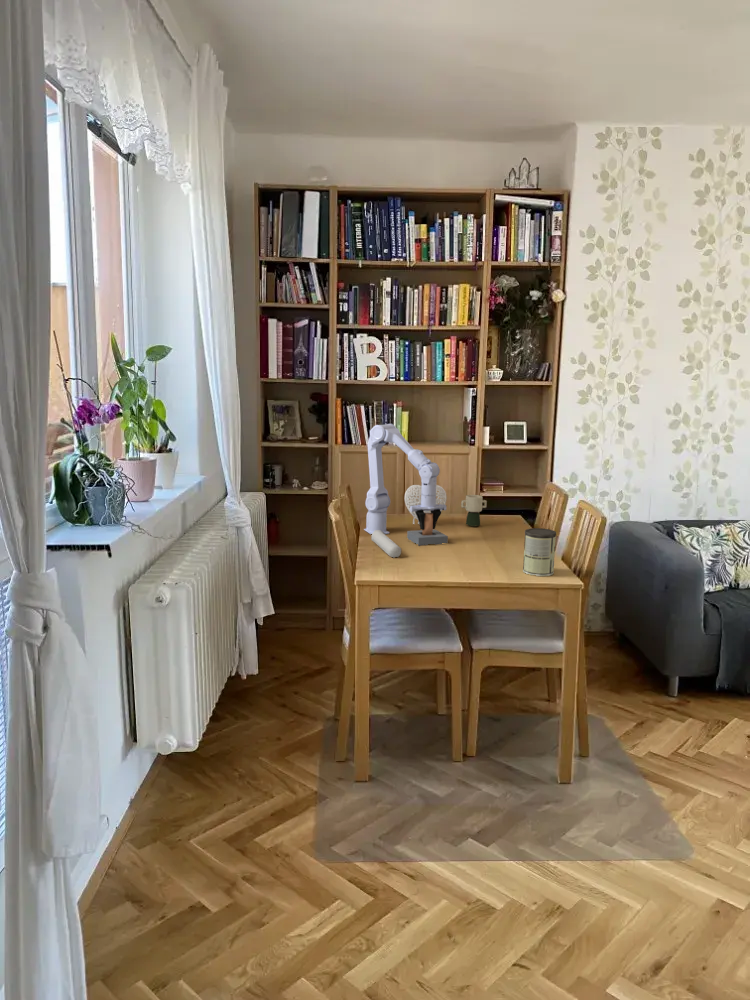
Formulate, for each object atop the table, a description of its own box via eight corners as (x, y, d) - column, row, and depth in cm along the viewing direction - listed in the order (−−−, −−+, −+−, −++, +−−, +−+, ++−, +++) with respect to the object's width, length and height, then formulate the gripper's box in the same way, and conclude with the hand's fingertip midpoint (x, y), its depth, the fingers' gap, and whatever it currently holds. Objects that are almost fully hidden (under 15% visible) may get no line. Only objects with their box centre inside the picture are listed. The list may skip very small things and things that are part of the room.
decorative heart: (443, 521, 335) (444, 483, 332) (447, 527, 325) (449, 487, 322) (402, 521, 334) (403, 482, 331) (405, 527, 324) (406, 486, 320)
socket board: (407, 538, 303) (407, 531, 302) (435, 536, 306) (435, 529, 306) (418, 545, 291) (418, 537, 291) (447, 543, 295) (447, 536, 295)
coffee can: (518, 568, 262) (520, 528, 260) (547, 568, 263) (550, 527, 261) (528, 576, 252) (530, 534, 250) (558, 576, 253) (561, 534, 251)
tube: (405, 547, 272) (386, 531, 296) (392, 543, 270) (373, 528, 294) (400, 561, 272) (381, 544, 296) (387, 558, 271) (369, 541, 295)
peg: (420, 535, 300) (421, 512, 298) (430, 534, 301) (430, 512, 300) (424, 537, 296) (425, 514, 295) (434, 537, 297) (434, 514, 296)
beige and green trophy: (483, 524, 332) (484, 494, 330) (487, 527, 325) (488, 497, 323) (458, 524, 331) (459, 494, 329) (462, 527, 324) (463, 497, 322)
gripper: (415, 496, 290) (413, 532, 292) (450, 495, 294) (448, 530, 297) (408, 493, 296) (407, 528, 299) (442, 492, 301) (441, 526, 303)
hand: (427, 528), depth 298 cm, fingers closed on peg, 4 cm apart
